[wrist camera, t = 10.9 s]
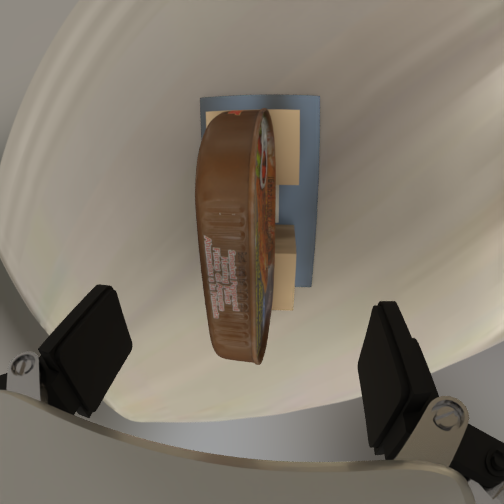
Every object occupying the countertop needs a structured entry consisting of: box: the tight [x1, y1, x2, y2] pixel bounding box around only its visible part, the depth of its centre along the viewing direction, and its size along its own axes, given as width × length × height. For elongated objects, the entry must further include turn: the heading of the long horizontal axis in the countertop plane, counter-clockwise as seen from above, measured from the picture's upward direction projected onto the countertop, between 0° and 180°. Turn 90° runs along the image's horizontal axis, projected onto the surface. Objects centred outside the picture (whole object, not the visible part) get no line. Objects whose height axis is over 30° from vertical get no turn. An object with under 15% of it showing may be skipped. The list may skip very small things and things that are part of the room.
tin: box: [195, 108, 276, 365], centre depth 17 cm, size 15×3×8 cm, turn 1°
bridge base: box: [200, 95, 320, 310], centre depth 23 cm, size 10×18×7 cm, turn 1°
